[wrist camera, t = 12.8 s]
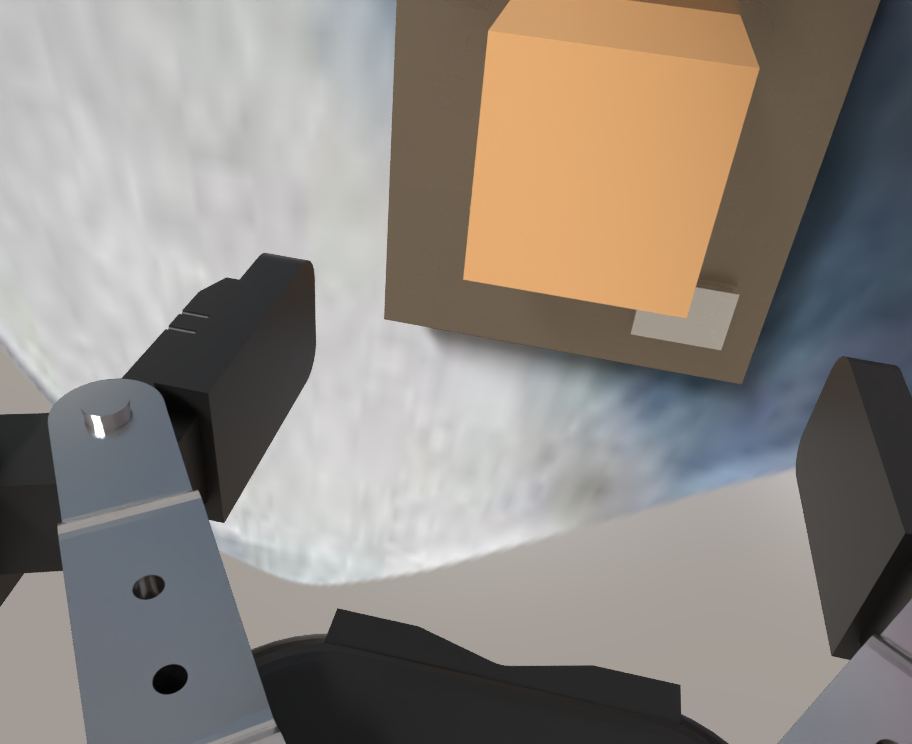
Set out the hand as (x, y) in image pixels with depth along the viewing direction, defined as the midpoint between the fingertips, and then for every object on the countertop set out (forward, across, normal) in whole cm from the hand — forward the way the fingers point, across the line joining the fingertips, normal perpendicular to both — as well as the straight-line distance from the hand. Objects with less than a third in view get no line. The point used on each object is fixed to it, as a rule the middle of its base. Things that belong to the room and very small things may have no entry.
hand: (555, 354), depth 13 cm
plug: (+15, 0, 0) cm, 15 cm away
